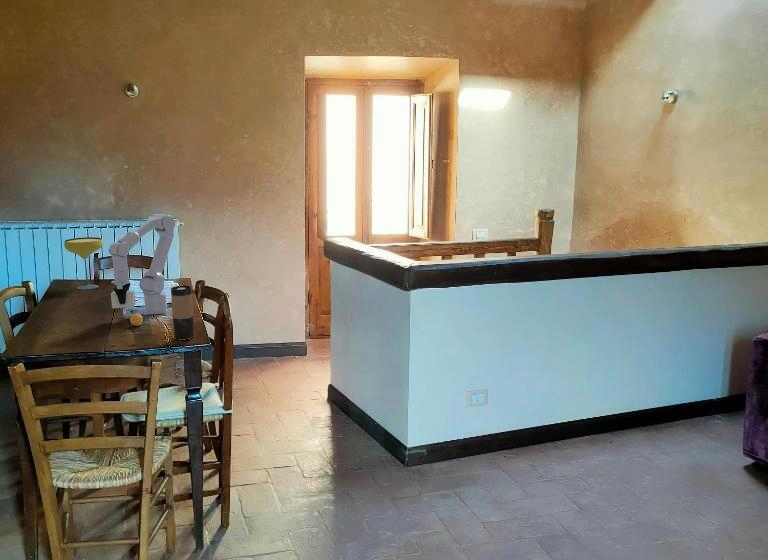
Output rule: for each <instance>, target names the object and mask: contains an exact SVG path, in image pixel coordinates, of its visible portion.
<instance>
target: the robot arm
mask: <svg viewBox="0 0 768 560" xmlns="http://www.w3.org/2000/svg"><path fill="white" fill-rule="evenodd" d="M175 226H176V220H175V219H174V216H173V215H171V214H160V213H153V214H151V215H150V216H148V218H147V219H146V221H145V222H143V224H142V225H140V226H139V227H138V228H137V229H136V230H134V231H132V230H131V231H127V232H126V233H125V235H124V236H123V237H121V238H119V239H118V240H117V241H116V242H115V241H114V242H112V243H111V244H110V245H109V248H108V253H109V255H110V256H111V259H112V267H113V277H114V280H112V281H111V284H113V285H116V286H115V287H113V291H115V293H116V295H117V297H118V300H119V303H120V304H125V303H126V293H127V291H128V290H130V287H131V281H130V277H129V266H128V265H129V264H128V256H129V254H130V251H131V250H132V248H134V247H135V246H137V244H138V243H140V242H141V238H142V237H143V236H145V235H146V234H148V233H150V232H151V231H152V230H154V231H155V232H156V233H157V234H158V236H159V238H158V242H157V244H156V248H155V251H154V253H153V257H152V259H151V264H150V267H149V269H148V271H146V272H144V274H143V276H142V278H141V279H140V281H139V283H138V286H139V289H140V290H141V291H142V293H143V300H144V312H143V315H144V316H146V315H161V314H162V315H165V314H167V311H168V303H167V293H166V292H164V291H163V290H164V288H165V276H164V275H163V271H164V268H165V265H166V261H167V258H168V255H169V252H170V248H171V246H172V242H173V239H174V229H175Z"/></svg>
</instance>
